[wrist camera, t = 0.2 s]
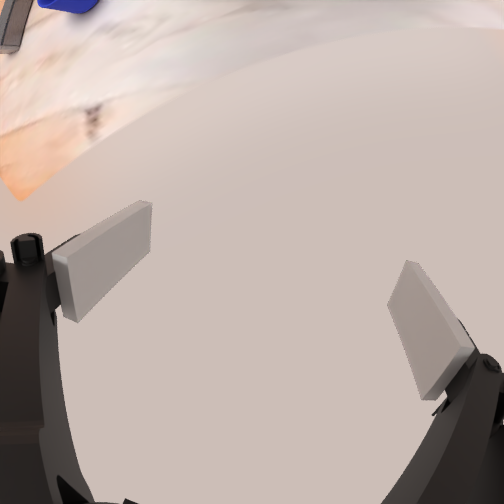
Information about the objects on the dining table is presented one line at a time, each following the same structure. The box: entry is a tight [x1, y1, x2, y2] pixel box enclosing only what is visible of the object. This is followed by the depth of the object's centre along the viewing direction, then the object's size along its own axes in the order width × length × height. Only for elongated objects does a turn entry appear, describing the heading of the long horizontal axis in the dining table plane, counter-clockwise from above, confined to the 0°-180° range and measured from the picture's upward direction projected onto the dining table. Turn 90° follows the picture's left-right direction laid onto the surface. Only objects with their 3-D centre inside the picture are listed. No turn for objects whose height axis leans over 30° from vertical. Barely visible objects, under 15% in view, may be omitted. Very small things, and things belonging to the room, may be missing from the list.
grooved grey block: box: [0, 0, 32, 54], centre depth 28 cm, size 16×5×6 cm, turn 171°
